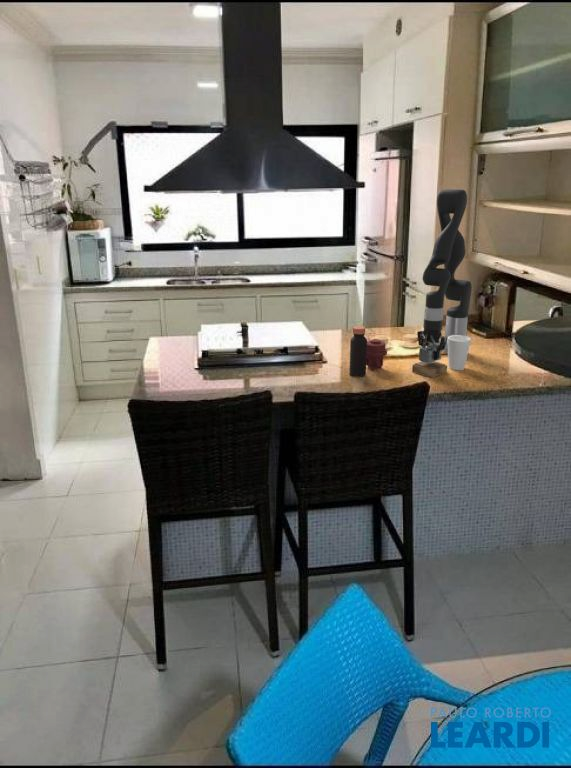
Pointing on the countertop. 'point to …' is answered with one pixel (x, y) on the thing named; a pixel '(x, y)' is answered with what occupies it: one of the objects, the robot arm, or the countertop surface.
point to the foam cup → (458, 351)
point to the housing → (428, 354)
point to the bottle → (358, 352)
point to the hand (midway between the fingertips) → (430, 357)
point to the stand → (429, 368)
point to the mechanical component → (375, 354)
